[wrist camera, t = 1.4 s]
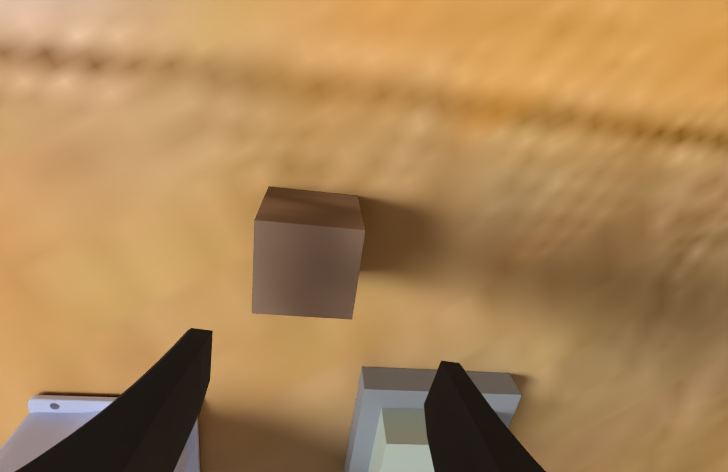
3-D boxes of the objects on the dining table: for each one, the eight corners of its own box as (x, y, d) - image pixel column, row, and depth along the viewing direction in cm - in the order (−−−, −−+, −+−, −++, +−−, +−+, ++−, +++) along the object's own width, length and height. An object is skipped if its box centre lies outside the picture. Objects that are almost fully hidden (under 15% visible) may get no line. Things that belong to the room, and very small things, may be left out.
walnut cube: (265, 264, 22) (251, 313, 18) (268, 185, 20) (254, 220, 16) (347, 271, 23) (352, 319, 18) (357, 195, 21) (365, 230, 17)
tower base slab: (342, 463, 30) (344, 497, 28) (360, 359, 26) (364, 389, 24) (469, 464, 31) (480, 497, 29) (505, 366, 27) (521, 395, 25)
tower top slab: (365, 482, 27) (368, 521, 25) (381, 407, 24) (386, 443, 22) (463, 484, 28) (475, 521, 26) (489, 411, 25) (505, 446, 23)
